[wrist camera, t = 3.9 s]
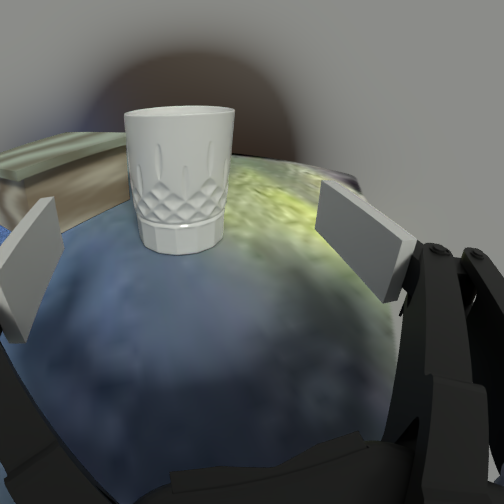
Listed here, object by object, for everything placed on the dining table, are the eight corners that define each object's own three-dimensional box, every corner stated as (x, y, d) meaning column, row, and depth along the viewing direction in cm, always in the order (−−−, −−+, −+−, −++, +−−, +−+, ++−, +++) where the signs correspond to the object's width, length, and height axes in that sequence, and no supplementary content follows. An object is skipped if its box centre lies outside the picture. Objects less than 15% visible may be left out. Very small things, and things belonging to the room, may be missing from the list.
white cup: (125, 226, 27) (117, 111, 22) (206, 210, 30) (208, 104, 25) (147, 270, 21) (135, 118, 16) (248, 246, 25) (256, 112, 20)
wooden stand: (-16, 222, 26) (-29, 163, 23) (71, 182, 38) (66, 132, 34) (34, 254, 22) (16, 171, 18) (142, 197, 33) (139, 133, 29)
